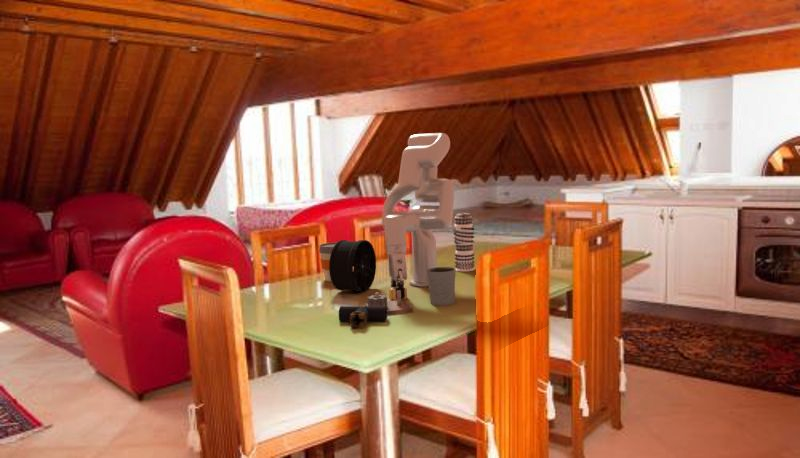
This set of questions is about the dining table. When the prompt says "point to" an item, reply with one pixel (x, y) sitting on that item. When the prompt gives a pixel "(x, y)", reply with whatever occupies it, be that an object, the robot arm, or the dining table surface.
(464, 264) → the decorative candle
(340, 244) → the car wheel rim
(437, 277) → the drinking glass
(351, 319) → the pipe connector
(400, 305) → the board
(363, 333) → the dining table surface
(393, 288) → the ochre gear
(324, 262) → the reusable coffee cup
